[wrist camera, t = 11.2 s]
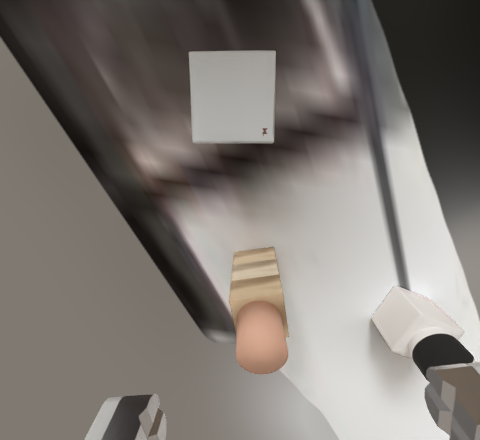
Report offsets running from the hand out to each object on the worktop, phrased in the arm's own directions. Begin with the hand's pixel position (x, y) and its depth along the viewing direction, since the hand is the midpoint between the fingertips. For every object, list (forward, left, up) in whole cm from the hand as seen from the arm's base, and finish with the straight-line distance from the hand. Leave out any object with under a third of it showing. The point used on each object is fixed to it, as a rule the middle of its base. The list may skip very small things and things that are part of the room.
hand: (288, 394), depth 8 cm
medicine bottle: (+24, +20, -31) cm, 44 cm away
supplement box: (-10, -1, -31) cm, 33 cm away
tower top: (+13, -2, -23) cm, 27 cm away
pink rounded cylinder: (+13, -2, -19) cm, 23 cm away
